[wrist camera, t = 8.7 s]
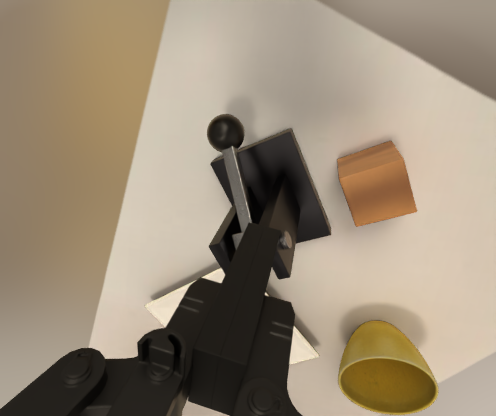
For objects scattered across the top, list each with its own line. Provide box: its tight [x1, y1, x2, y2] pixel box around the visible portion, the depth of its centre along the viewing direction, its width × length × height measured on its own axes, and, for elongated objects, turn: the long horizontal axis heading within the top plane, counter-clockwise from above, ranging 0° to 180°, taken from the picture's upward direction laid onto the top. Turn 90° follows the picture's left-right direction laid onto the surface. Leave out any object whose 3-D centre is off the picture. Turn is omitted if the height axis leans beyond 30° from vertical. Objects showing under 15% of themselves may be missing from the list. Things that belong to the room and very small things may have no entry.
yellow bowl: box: [338, 321, 438, 415], centre depth 35 cm, size 10×10×7 cm
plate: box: [145, 268, 319, 365], centre depth 43 cm, size 19×19×2 cm
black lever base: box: [209, 128, 331, 279], centre depth 27 cm, size 12×9×12 cm
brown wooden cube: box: [337, 141, 417, 227], centre depth 27 cm, size 5×5×5 cm
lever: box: [207, 114, 256, 250], centre depth 25 cm, size 13×3×3 cm
